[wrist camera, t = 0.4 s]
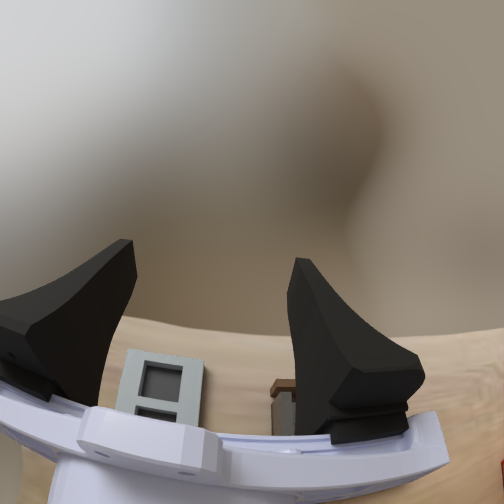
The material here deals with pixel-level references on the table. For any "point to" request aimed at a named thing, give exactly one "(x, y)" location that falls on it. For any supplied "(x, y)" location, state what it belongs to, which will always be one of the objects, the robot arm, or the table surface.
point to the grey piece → (283, 415)
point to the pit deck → (161, 387)
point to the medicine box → (503, 470)
